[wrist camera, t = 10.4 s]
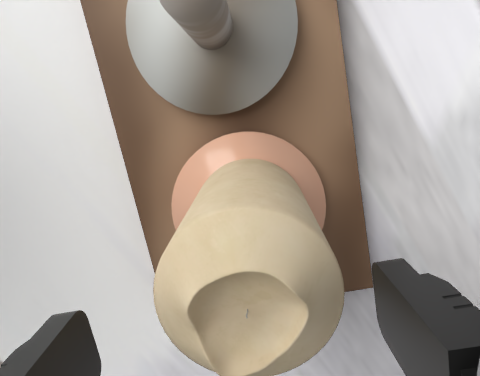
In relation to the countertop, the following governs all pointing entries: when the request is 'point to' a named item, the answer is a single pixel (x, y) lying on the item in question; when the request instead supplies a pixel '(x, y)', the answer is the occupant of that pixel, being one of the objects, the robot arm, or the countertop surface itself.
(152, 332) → the countertop surface
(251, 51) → the board
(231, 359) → the candle
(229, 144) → the pad
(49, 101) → the countertop surface
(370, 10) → the countertop surface
